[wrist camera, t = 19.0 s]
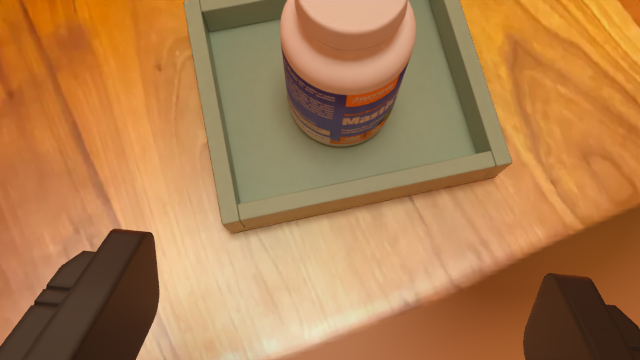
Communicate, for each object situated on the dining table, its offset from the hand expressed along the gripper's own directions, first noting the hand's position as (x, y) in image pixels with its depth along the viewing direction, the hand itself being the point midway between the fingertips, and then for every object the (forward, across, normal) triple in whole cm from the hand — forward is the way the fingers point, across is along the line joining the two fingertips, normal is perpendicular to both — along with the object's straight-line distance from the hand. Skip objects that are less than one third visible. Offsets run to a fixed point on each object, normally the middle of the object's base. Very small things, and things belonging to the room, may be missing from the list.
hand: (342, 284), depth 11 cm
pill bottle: (+18, 0, +3) cm, 18 cm away
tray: (+18, 0, +3) cm, 18 cm away
